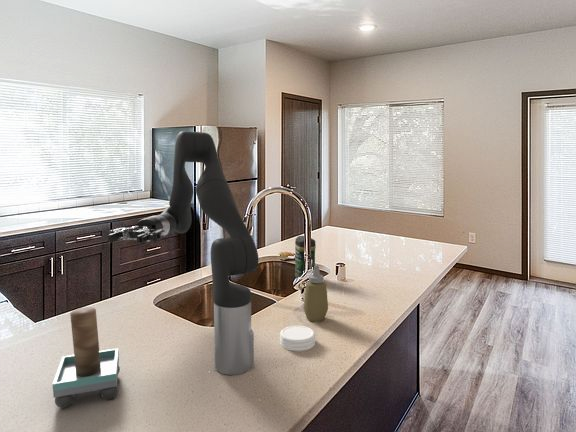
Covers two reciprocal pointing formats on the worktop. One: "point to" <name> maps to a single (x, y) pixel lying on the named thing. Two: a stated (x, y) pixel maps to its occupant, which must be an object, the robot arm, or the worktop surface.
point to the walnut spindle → (85, 341)
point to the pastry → (286, 254)
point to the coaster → (297, 338)
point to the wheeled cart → (86, 378)
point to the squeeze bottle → (316, 297)
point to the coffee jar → (302, 255)
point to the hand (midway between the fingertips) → (123, 239)
